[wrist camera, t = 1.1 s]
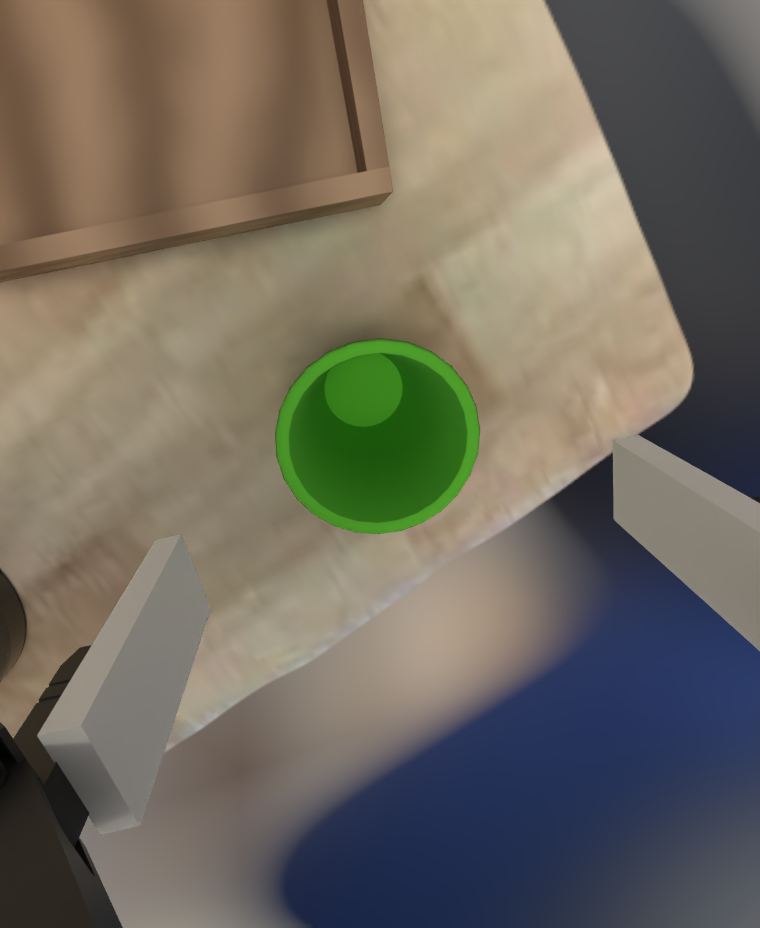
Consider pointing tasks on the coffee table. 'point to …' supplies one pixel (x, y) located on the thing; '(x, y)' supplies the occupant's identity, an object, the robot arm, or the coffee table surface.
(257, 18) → the tray
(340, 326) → the coffee table surface
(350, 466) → the cup
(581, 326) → the coffee table surface
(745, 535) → the robot arm
